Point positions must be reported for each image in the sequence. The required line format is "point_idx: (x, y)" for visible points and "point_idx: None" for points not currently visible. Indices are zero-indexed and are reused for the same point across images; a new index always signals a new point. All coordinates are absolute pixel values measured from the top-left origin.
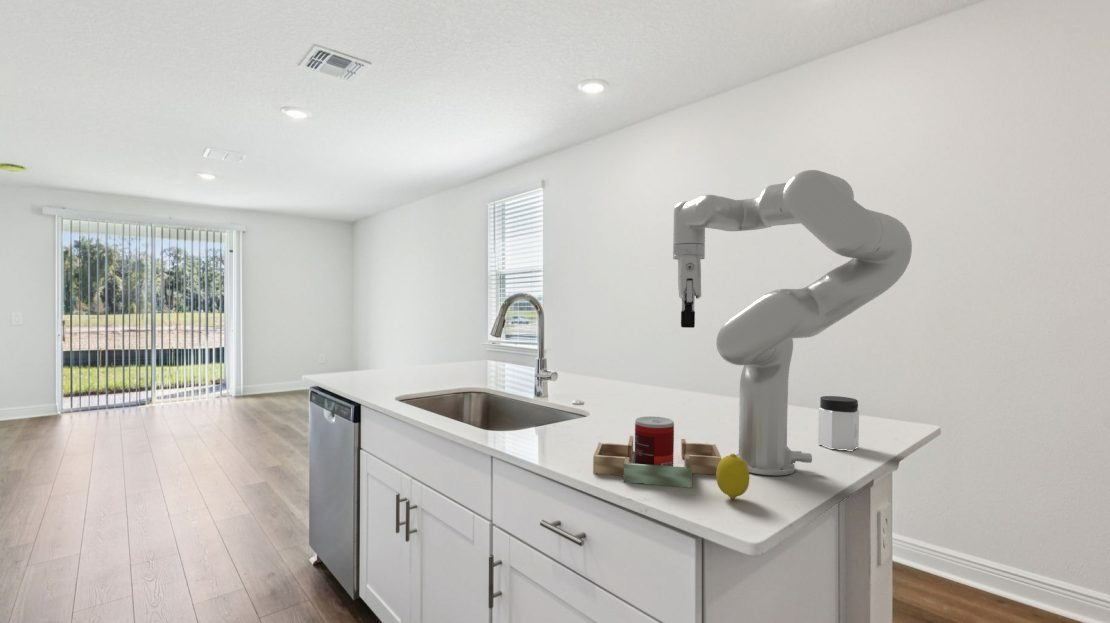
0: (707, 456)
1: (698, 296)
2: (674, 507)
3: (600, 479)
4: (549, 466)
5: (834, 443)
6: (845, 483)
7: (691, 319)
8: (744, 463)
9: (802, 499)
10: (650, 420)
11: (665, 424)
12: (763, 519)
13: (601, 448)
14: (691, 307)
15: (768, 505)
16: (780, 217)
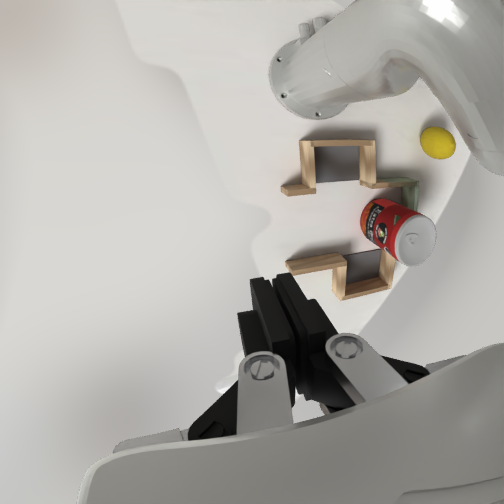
0: (374, 158)
1: (248, 456)
2: (442, 194)
3: (395, 267)
4: (365, 322)
5: None
6: (341, 7)
7: (322, 310)
8: (450, 133)
9: None
10: (408, 248)
11: (434, 225)
12: (448, 125)
13: (351, 292)
14: (384, 358)
15: (426, 111)
16: None
